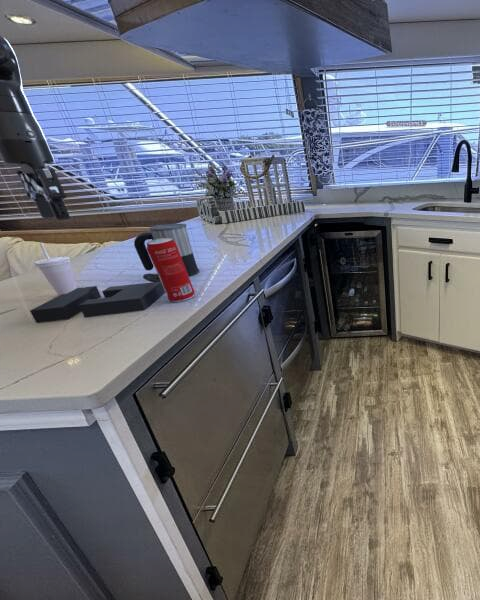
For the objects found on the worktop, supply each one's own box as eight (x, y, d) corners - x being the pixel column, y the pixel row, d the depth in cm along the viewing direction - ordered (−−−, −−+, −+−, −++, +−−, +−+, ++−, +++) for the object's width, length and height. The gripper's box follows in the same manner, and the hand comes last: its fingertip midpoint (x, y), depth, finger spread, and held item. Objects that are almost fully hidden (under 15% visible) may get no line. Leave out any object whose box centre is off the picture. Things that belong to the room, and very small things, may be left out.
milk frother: (197, 267, 105) (183, 221, 99) (207, 278, 94) (192, 228, 88) (144, 277, 97) (125, 228, 91) (148, 291, 86) (127, 236, 80)
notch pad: (84, 317, 72) (78, 305, 71) (114, 297, 83) (109, 286, 82) (144, 310, 74) (140, 298, 73) (166, 291, 85) (162, 281, 84)
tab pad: (68, 319, 71) (62, 307, 70) (36, 323, 70) (29, 310, 69) (105, 296, 84) (100, 285, 83) (78, 299, 83) (73, 288, 82)
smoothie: (45, 298, 84) (18, 246, 78) (73, 289, 90) (50, 240, 84) (63, 299, 83) (37, 246, 77) (90, 290, 88) (67, 240, 83)
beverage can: (200, 293, 83) (182, 235, 77) (185, 303, 77) (165, 242, 71) (177, 294, 83) (157, 236, 77) (160, 304, 77) (138, 243, 71)
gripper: (-18, 140, 66) (22, 219, 73) (3, 135, 60) (45, 223, 66) (33, 141, 72) (65, 214, 79) (57, 137, 66) (90, 217, 72)
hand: (56, 218), depth 73 cm, fingers open, 8 cm apart
